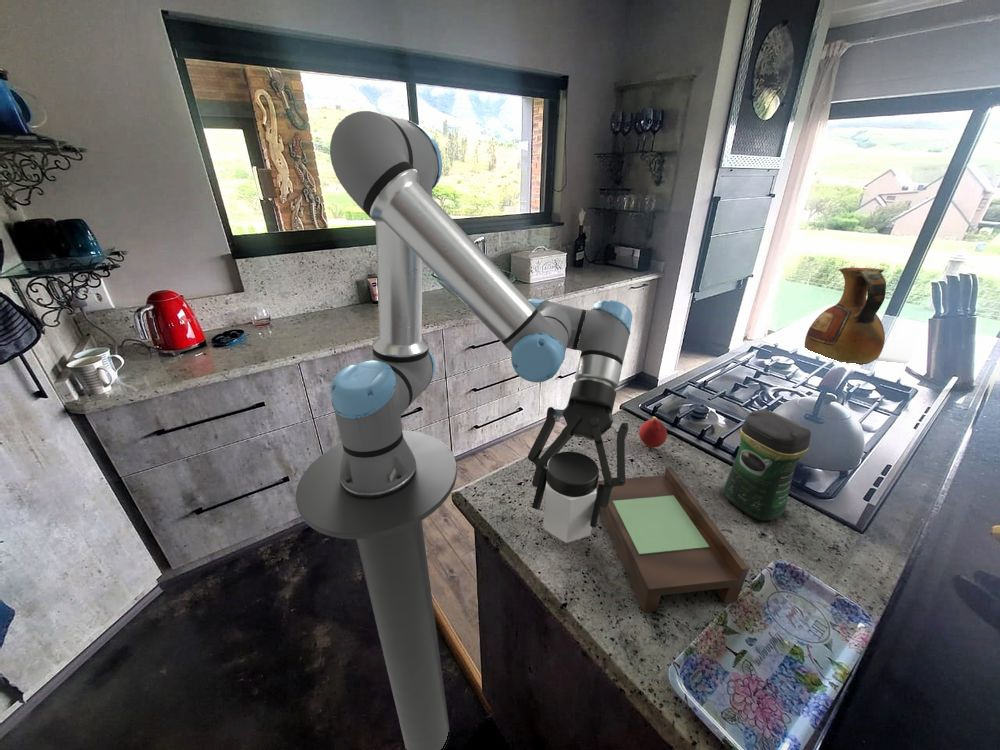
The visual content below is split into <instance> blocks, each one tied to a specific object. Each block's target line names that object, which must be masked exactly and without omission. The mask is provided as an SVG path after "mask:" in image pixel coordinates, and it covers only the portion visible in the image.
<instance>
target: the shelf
mask: <svg viewBox="0 0 1000 750" xmlns="http://www.w3.org/2000/svg"><path fill="white" fill-rule="evenodd" d="M599 484H602V485H604V479H602V480H598V483H597V487H596V488H597V491H598V486H599ZM596 495H597V494H596ZM599 515H600V517H601V519H602V521H603V524H604V526H605V528H606V530H607V533H608V535H609V537H610V540H611V542H612V544H613V546H614V549H615V551H616V553H617V556H618V558H619V560H620V563H621V564H622V566H623V569H624V572H625V573H626V577H627V578H628V581H629V583H630V585H631V587H632V590H633V592H634V594H635V596H636V598H637V601H638V603H639V606H640V607H641V610H642V612H643V613H653V612H657V611H658V608H659V605H660V600H661V596H666V595H675V594H684V593H685V594H687V593H693V592H703V591H711V590H714V591H715V592H716V594H717V595H718V597H719V598H720V600H721V602H722V603H723V604H729V603H736V602H738V599H739V596H740V593H741V591H742V588H743V585H744V583H745V581H746V578H747V576H748V573H749V570H750V568H749V567H748V565H747V564H746V563H745V561H744V560H743V559H742V557H741V556H740V555H739V554H738V552H737V551H736V550H735V548H734V547H733V546H732V544H731V543H730V541H728V539H727V538H726V536H725V535H724V534H723V533H722V531H721V530H720V529H719V527H718V526H717V524H716V523H715V522H714V521H713V519H712V518H711V517H710V515H709V514H708V513H707V512H706V510H705V509H704V508H703V506H702V505H701V504H700V503H699V501H698V500H697V498H696V497H695V496H694V495H693V493H692V492H691V491H690V490H689V488H688V487H687V485H686V484H685V483H684V482H683V480H682V479H681V478H680V476H679V475H678V474H677V472H676V471H675V469H674V468H673V467H672V466H665V470H664V474H663V475H650V476H640V477H627V478H626V477H625V485H624V486H616V487H613V488H612V490H611V495H610V500H609V505H608V506H607V508H605V507H602V506H601V507H600V511H599Z"/></svg>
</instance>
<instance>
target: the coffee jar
mask: <svg viewBox="0 0 1000 750" xmlns="http://www.w3.org/2000/svg"><path fill="white" fill-rule="evenodd" d="M739 434H740V435H739V436H740V441H739V447H738V450H737V454H736V457H735V459H734V462H733V464H732V466H731V469H730V471H729V473H728V476H727V478H726V480H725V482H724V485H723V489H722V493H723V496H724V497H725V498H726V500H728V501H729V502H730V503H731V504H733V505H734V506H735V507H736V508H737V509H739V510H740V511H742V512H743V513H744V514H746V515H747V516H749V517H751V518H753V519H754V520H758V521H764V522H765V521H768V522H769V521H773V520H775V519H777V518H780V517H781V516H782V515H783V514H784V512H785V510H786V507H787V505H788V504H787V503H788V499H789V494H790V490H791V486H792V482H793V481H792V480H793V477H794V475H795V474H794V473H795V470H796V467H797V464H798V462H799V460H800V459H801V458H802V457H804V455H806V454H807V452H808V450H809V447H810V442H811V437H812V436H811V435H812V433H811V430H810V429H809V428H807V427H805V426H803V425H801V424H799V423H797V422H794V421H793V420H791V419H788V418H787V417H784V416H782V415H780V414H778V413H775V412H773V411H770V410H769V409H767V408H761V409H757V410H754V411H751V412H749V413H748V414H747V416H746V417H745V418H744V421H743V423H742V425H741V427H740V431H739Z"/></svg>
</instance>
